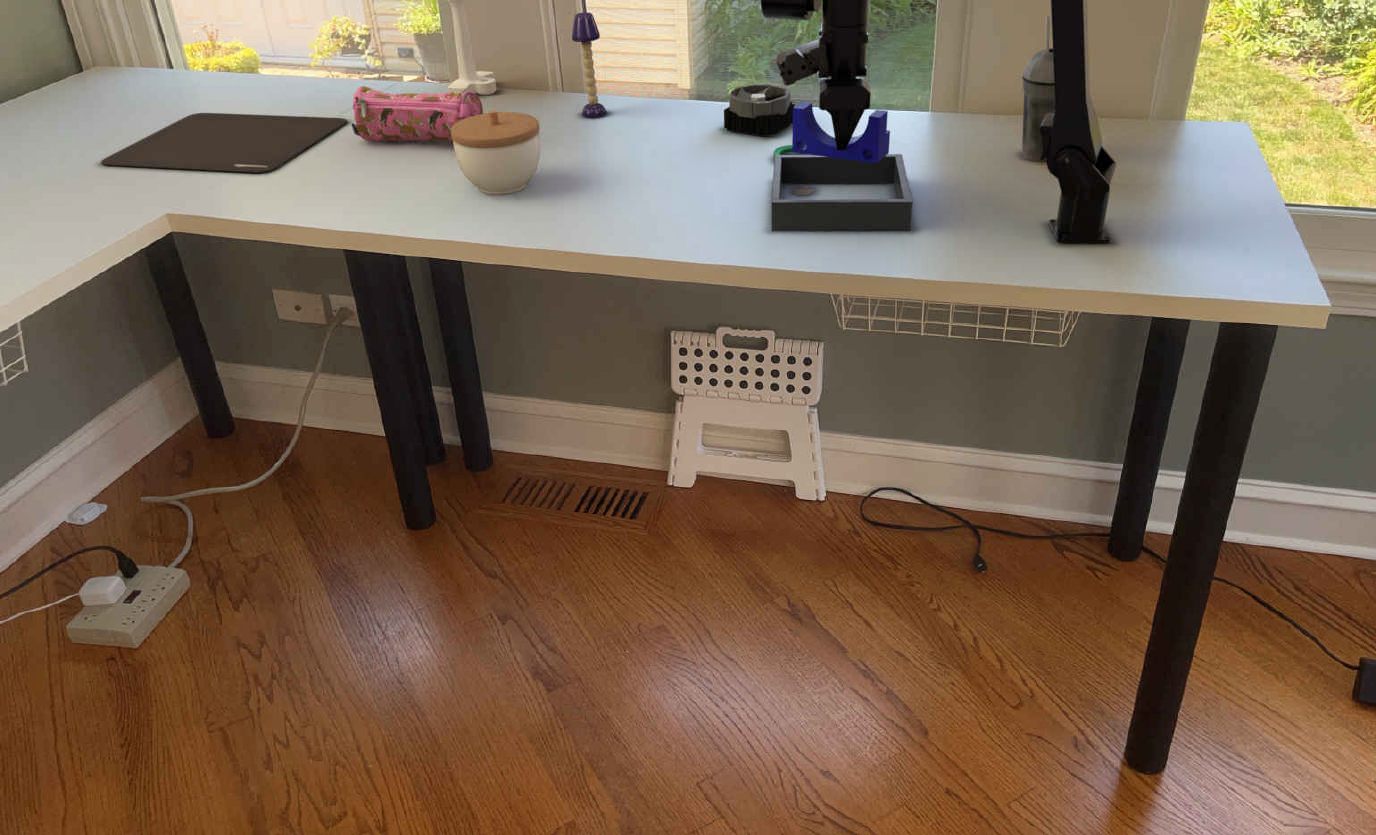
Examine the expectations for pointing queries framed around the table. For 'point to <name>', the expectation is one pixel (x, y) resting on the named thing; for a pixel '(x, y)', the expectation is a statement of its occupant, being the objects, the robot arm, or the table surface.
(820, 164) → the dark grey square tray
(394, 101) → the pencil case
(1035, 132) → the beverage cup
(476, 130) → the lidded bowl
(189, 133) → the mouse pad
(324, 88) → the table surface
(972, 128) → the table surface
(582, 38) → the toy lamp
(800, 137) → the blue u-shaped bracket
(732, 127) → the cpu cooler
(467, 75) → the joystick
